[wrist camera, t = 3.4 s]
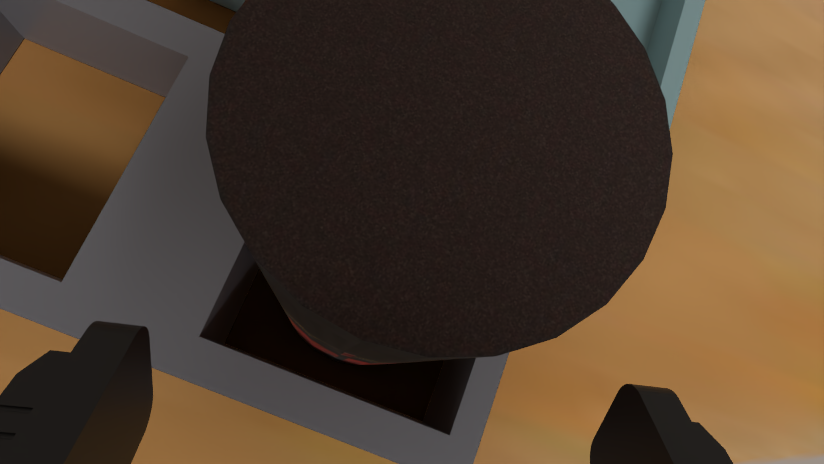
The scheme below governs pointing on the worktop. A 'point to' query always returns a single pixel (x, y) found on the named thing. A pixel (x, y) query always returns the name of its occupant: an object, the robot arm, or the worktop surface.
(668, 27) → the tray
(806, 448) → the worktop surface
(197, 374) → the holder
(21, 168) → the worktop surface
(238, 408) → the worktop surface
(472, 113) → the deodorant
